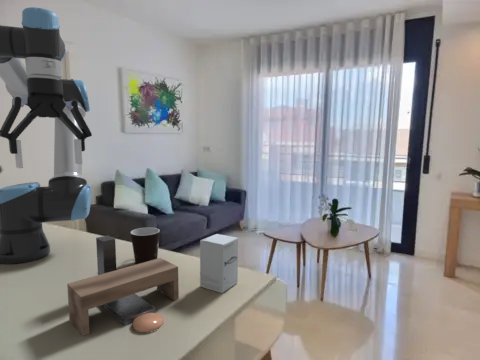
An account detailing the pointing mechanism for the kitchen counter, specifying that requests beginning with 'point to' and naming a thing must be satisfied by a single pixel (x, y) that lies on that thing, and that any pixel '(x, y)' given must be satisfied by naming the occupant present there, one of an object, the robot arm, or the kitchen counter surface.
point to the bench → (119, 288)
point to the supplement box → (218, 262)
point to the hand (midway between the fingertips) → (50, 165)
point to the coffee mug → (145, 244)
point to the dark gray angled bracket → (126, 306)
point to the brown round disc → (148, 322)
